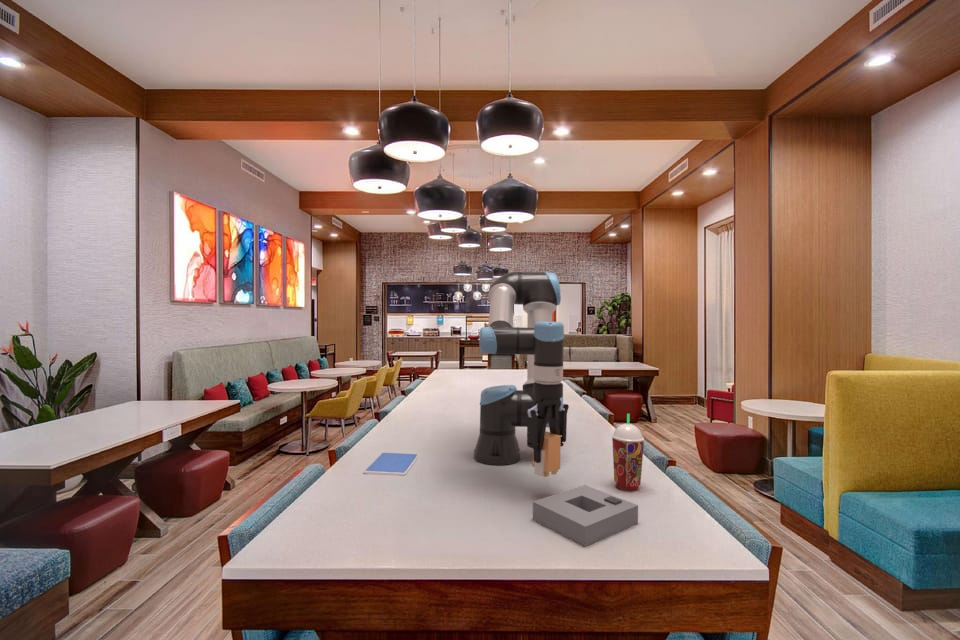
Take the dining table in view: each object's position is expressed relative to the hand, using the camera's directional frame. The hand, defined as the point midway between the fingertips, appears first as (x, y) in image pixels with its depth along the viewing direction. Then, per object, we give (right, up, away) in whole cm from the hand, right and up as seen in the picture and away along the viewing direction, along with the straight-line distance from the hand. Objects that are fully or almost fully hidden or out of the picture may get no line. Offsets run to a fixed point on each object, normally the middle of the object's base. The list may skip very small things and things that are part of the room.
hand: (546, 472), depth 115 cm
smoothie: (+23, -7, +7) cm, 25 cm away
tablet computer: (-44, -6, +23) cm, 50 cm away
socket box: (+7, -6, -14) cm, 17 cm away
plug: (0, 0, 0) cm, 0 cm away
